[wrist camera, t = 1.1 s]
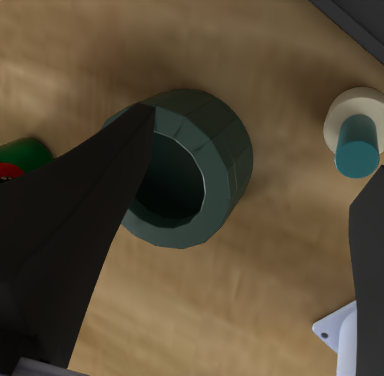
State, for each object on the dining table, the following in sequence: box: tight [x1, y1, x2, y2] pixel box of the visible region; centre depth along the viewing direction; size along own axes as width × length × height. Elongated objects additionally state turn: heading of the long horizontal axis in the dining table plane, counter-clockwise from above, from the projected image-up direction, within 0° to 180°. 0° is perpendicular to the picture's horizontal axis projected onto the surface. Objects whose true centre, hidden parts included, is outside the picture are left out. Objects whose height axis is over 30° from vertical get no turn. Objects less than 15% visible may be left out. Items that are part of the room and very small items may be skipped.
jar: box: [101, 89, 253, 249], centre depth 23 cm, size 9×9×5 cm
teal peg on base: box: [323, 87, 384, 178], centre depth 17 cm, size 3×3×7 cm
